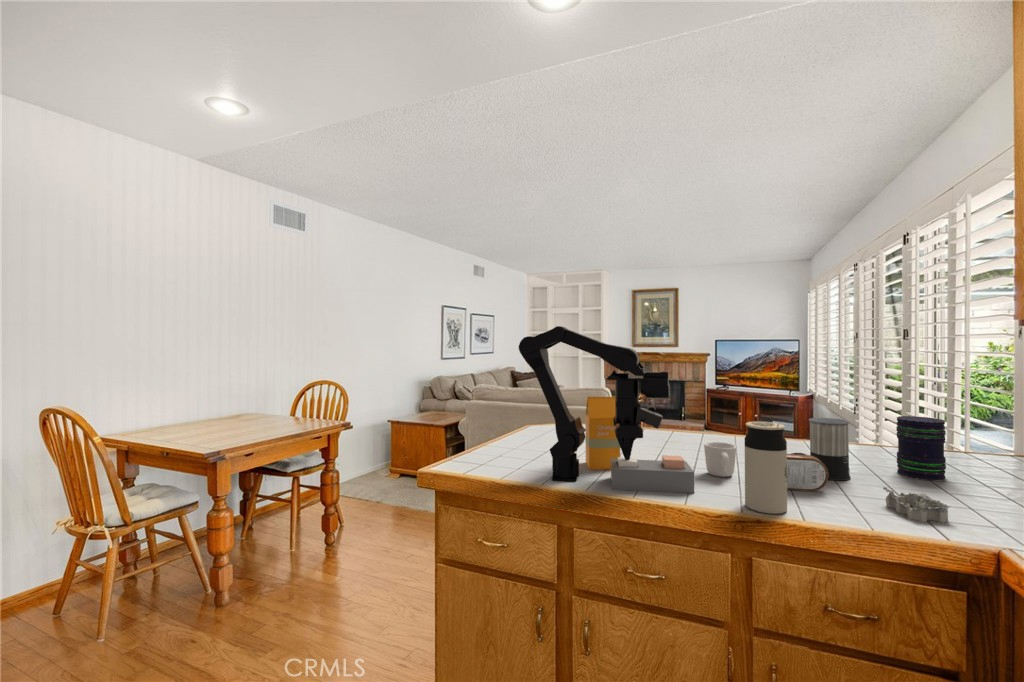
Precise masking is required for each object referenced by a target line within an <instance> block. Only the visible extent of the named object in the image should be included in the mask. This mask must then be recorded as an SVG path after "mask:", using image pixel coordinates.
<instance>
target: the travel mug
mask: <svg viewBox="0 0 1024 682" xmlns="http://www.w3.org/2000/svg"><path fill="white" fill-rule="evenodd" d="M745 426H746V427H747V428H746V429H747V433H746V435H745V437H744V505H745V507H747V508H748V509H750V510H752V511H754V512H757V513H761V514H768V515H780V514H784V513H787V511H788V490H787V454H788V451H787V449H788V441H787V440H786V438H785V436H784V430H785V428H786V426H785V425H784V424H781V423H778V422H770V421H748V422H746V423H745Z"/></svg>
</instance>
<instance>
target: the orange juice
mask: <svg viewBox="0 0 1024 682" xmlns="http://www.w3.org/2000/svg"><path fill="white" fill-rule="evenodd" d="M586 399H587V400H586V407H585V408H586V409H585V414H584V415H585V430H586V431H585V440H584V443H585V463H586V466H587V467H588V469H589V470H611V459H618V457H621V447H620V445H619V442H618V440H617V437H616V435H615V427H616V426H617V424H616V426H614V425H613V417H614V416H615V396H587V397H586Z"/></svg>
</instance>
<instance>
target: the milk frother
mask: <svg viewBox="0 0 1024 682" xmlns="http://www.w3.org/2000/svg"><path fill="white" fill-rule="evenodd" d="M808 422H809V441H810V442H809V451H810V452H809V455H811V456H814V457H816V458H818V459H819V460H820V461H821V462H822V463H823V464H824V465H825V466H826V468H827V470H828V474H829V476H828V480H830V481H848V480H850V479H851V475H850V459H849V458H850V456H849V452H850V451H849V450H850V449H849V446H850V445H849V443H850V442H849V424H850V423H851V422H850V421H848V420H845V419H841V418H831V417H830V418H829V417H811V418H809V419H808ZM790 454H798V455H807V453H803V452H793V453H790Z"/></svg>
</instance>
